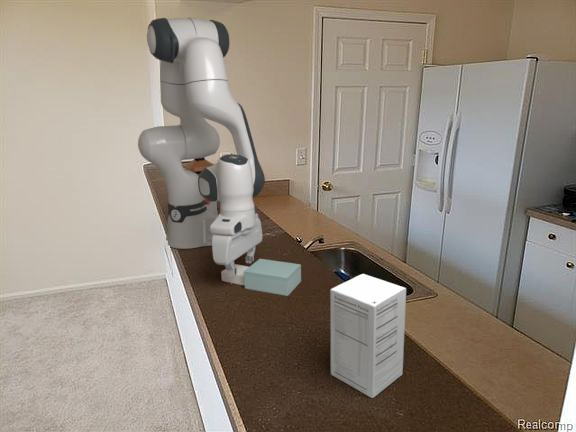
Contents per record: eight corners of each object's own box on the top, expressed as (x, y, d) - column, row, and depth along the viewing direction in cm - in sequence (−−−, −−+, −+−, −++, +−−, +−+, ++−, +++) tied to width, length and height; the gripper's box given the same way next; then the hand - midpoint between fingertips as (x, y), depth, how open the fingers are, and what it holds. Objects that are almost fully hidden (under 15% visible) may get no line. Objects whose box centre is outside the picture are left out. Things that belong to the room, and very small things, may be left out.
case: (260, 274, 119) (259, 258, 117) (301, 281, 114) (300, 264, 113) (244, 288, 111) (243, 271, 109) (287, 295, 106) (287, 278, 105)
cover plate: (234, 273, 121) (233, 263, 120) (278, 282, 114) (277, 272, 114) (221, 282, 116) (221, 271, 115) (266, 291, 109) (266, 281, 109)
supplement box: (404, 374, 76) (409, 287, 71) (372, 400, 70) (376, 307, 65) (360, 352, 83) (362, 271, 78) (328, 374, 77) (328, 287, 72)
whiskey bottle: (195, 214, 179) (188, 136, 170) (189, 209, 188) (182, 134, 179) (219, 210, 184) (213, 135, 175) (211, 205, 192) (206, 133, 183)
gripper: (246, 208, 121) (249, 254, 125) (205, 228, 103) (210, 281, 107) (266, 209, 119) (269, 256, 122) (228, 230, 101) (232, 285, 104)
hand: (241, 268), depth 114 cm, fingers open, 8 cm apart
